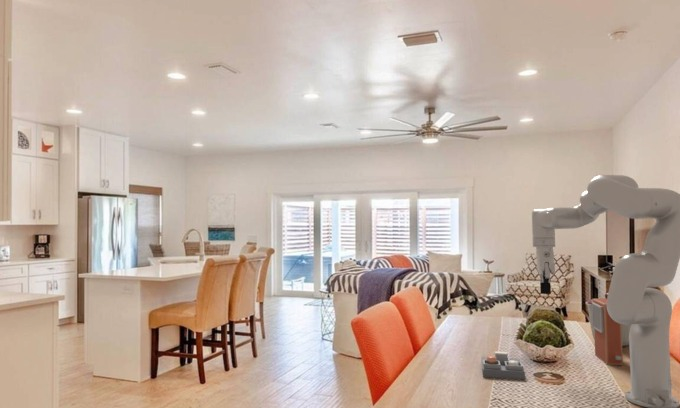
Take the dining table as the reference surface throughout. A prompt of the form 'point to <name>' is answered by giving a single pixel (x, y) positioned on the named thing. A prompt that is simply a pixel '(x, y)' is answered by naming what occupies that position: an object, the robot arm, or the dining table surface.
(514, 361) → the white button
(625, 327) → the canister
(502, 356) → the paddle
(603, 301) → the control panel
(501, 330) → the dining table surface
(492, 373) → the switch board
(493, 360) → the terracotta button
